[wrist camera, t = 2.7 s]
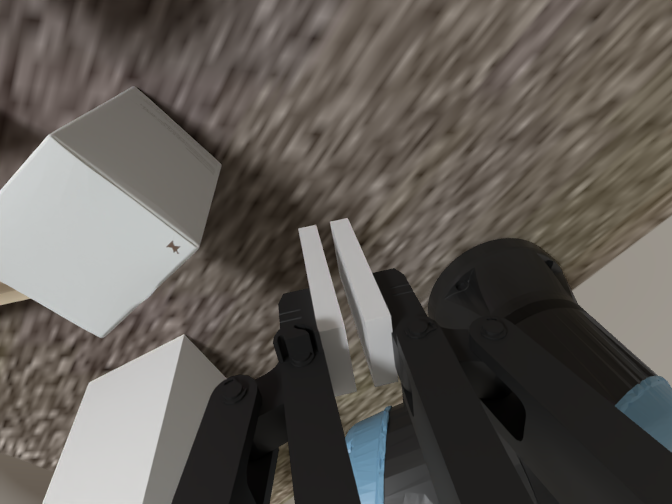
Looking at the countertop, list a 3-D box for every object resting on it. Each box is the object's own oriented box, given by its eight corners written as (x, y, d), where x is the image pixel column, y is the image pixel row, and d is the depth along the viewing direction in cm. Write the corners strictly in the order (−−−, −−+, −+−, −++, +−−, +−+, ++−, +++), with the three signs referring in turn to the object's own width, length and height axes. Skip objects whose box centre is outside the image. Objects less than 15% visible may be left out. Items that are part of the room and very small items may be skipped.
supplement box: (133, 80, 31) (48, 126, 19) (224, 164, 36) (206, 248, 23) (60, 161, 33) (-62, 253, 21) (155, 231, 38) (102, 344, 25)
